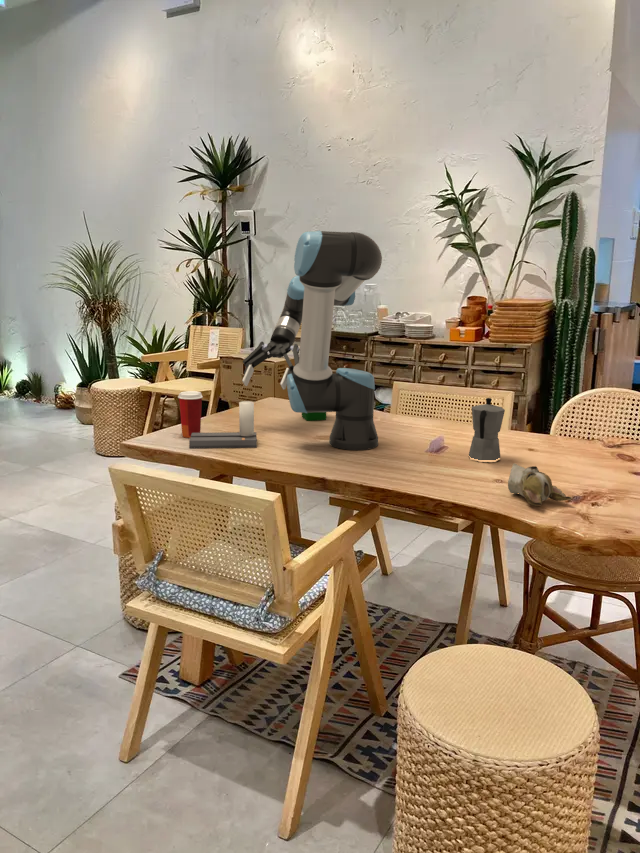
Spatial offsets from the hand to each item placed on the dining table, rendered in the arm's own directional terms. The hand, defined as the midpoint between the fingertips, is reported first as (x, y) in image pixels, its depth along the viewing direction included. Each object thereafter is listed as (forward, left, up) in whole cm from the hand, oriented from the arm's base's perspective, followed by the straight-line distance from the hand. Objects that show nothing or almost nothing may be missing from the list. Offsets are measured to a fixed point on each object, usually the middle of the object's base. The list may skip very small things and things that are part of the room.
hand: (263, 385), depth 214 cm
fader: (+5, +9, -17) cm, 20 cm away
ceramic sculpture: (-63, +65, -17) cm, 92 cm away
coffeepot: (-63, +30, -17) cm, 72 cm away
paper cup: (+23, -1, -17) cm, 29 cm away
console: (+12, +9, -17) cm, 23 cm away
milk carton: (-19, -26, -17) cm, 36 cm away
